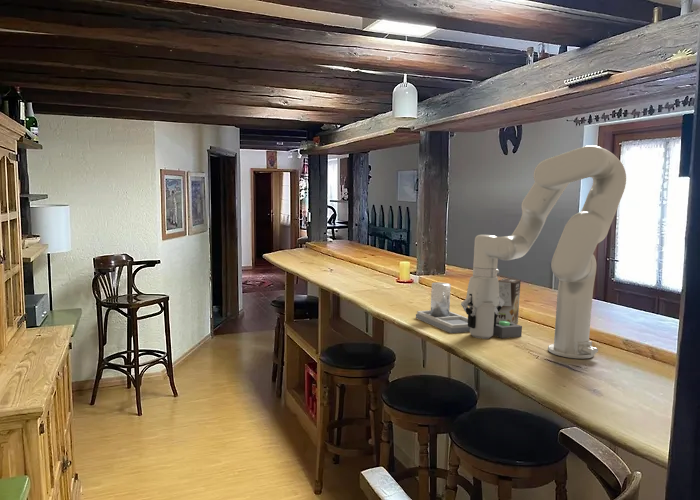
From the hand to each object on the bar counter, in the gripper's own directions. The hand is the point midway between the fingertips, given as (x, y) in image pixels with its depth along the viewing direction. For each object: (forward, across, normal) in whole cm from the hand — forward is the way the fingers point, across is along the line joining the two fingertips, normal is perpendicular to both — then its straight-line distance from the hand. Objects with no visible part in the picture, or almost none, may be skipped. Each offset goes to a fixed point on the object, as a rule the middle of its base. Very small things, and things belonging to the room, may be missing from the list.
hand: (481, 326), depth 175 cm
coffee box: (+4, -20, -12) cm, 24 cm away
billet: (+2, +1, -23) cm, 23 cm away
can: (+4, 0, 0) cm, 4 cm away
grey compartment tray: (+3, +1, -18) cm, 18 cm away
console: (+3, -9, 0) cm, 10 cm away
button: (+2, -9, 0) cm, 9 cm away
